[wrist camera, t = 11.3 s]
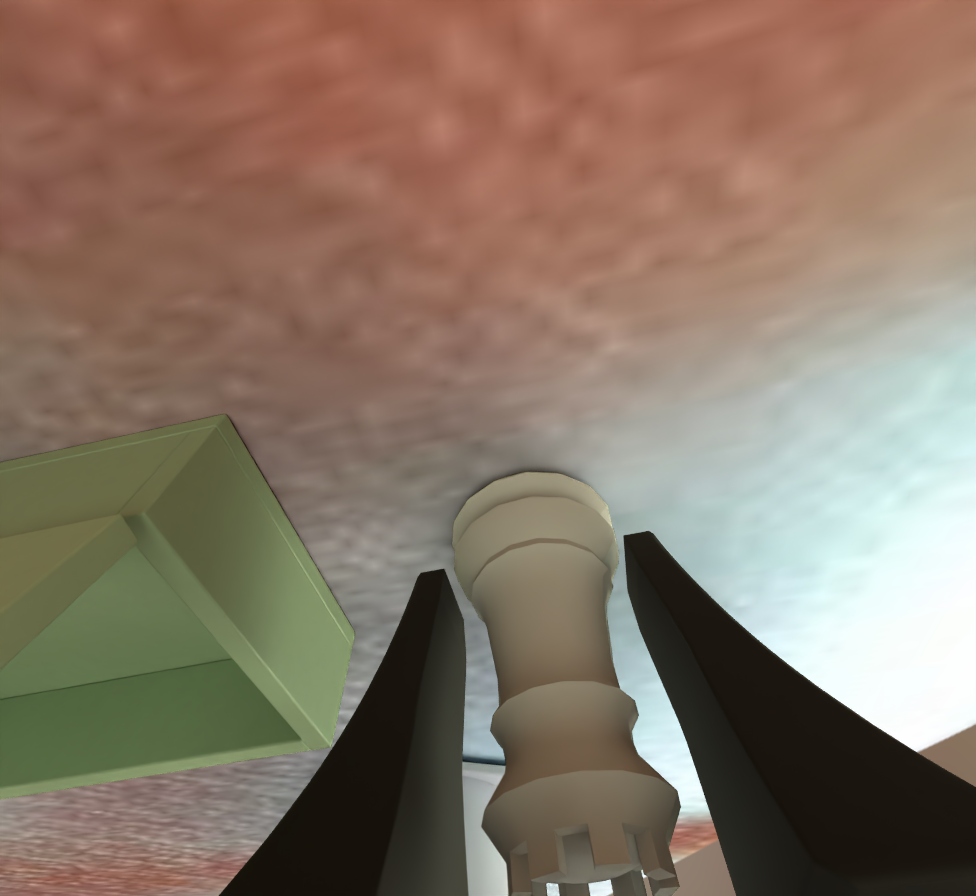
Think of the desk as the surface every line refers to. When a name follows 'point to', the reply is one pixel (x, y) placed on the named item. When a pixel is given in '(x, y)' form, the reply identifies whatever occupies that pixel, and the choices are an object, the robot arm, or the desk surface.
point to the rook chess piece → (560, 694)
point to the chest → (169, 618)
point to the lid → (53, 574)
